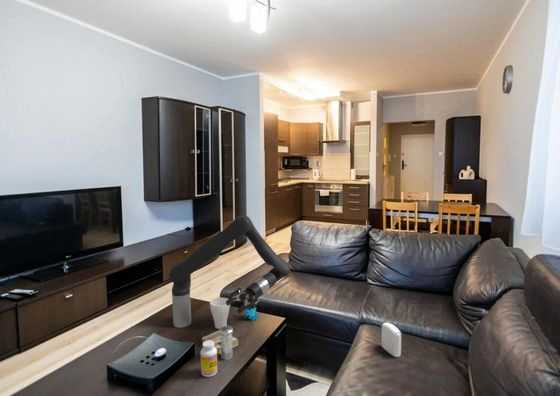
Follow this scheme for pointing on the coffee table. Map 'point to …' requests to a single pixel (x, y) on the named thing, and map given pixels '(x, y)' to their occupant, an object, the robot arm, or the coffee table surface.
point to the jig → (218, 340)
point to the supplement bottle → (208, 359)
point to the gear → (251, 314)
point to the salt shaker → (226, 342)
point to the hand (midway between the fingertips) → (232, 307)
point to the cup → (219, 311)
